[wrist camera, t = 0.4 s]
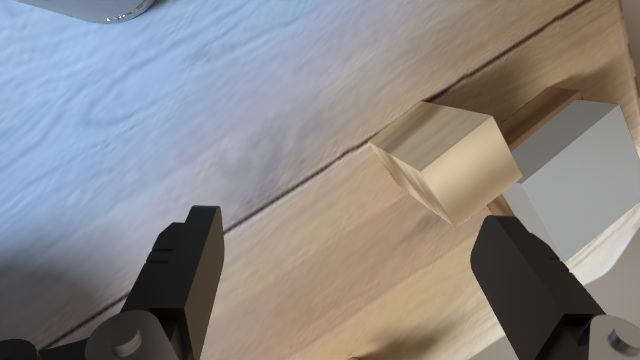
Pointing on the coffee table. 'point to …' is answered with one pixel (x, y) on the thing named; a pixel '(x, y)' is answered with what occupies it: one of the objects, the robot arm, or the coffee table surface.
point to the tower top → (576, 176)
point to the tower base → (531, 127)
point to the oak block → (447, 159)
